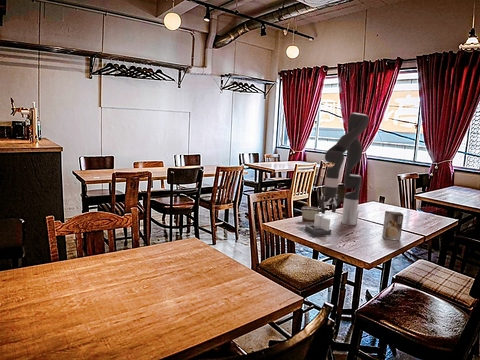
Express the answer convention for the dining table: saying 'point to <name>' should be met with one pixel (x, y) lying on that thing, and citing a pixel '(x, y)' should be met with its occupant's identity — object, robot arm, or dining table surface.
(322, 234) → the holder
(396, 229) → the coffee box
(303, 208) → the food container
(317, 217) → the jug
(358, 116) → the robot arm
